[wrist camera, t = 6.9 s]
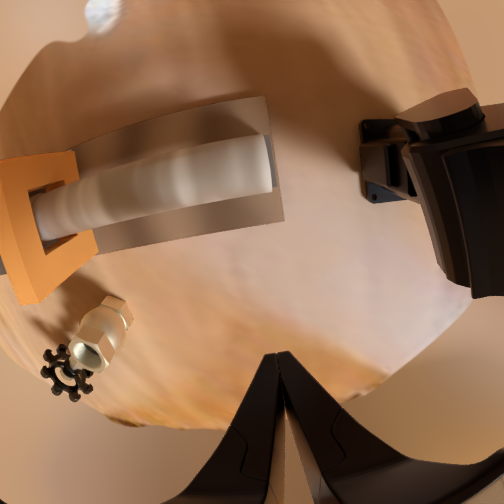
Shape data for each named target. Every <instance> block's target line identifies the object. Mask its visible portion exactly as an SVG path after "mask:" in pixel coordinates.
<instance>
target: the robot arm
mask: <svg viewBox="0 0 504 504" xmlns="http://www.w3.org/2000/svg"><path fill="white" fill-rule="evenodd" d="M394 119H395V120H394ZM394 119H366V120H362V121H360V123H359V130H360V137H361V145H360V147H359V149H360V158H361V167H362V177H363V179H364V180H365V184H366V197H367V200H368V201H369V202H371V203H374V204H375V203H383V202H391V201H400V200H411V201H413V202H416V203H418V204H421V207H422V210H423V213H424V216H425V220H426V223H427V226H428V230H429V233H430V236H431V240H432V244H433V248H434V251H435V255H436V259H437V263H438V265H439V266H440V267H441V269H442V270H443V272H444V273H445V274H446V277H447V279H448V280H450V281H452V282H453V283H455V284H458V285H461V286H465V287H469V288H471V296H472V298H473V299H477V298H482V297H487V296H504V103H502V104H494V105H487V106H480V105H479V102H478V100H477V98H476V97H475V96H474V95H473V94H472V93H471V91H470V90H469V89H468V88H462V89H458V90H454V91H449V92H445V93H442V94H439V95H437V96H435V97H433V98H431V99H429V100H426V101H424V102H422V103H420V104H418V105H416V106H414V107H412V108H410V109H408V110H406V111H404V112H402V113H400V114H398V115H396V116H394ZM365 123H366V124H367V125H368V128H367V129H365V127H364V124H365ZM373 194H374V195H375V198H374V199H372V198H371V196H372V195H373ZM277 358H278V359H277ZM278 364H279V365H278ZM279 371H280V372H279ZM280 378H281V379H280ZM281 384H282V385H281ZM282 391H283V392H282ZM283 397H284V398H283ZM284 404H285V405H284ZM285 409H286V414H287V417H288V421H289V424H290V427H291V430H292V434H293V436H294V440H295V443H296V447H297V450H298V453H299V456H300V460H301V463H302V466H303V469H304V472H305V475H306V479H307V482H308V485H309V488H310V491H311V494H312V498H313V501H314V504H504V477H503V476H504V447H503V448H501V449H499V450H498V451H496V452H495V453H493V454H492V455H491V456H489V457H488V458H486V459H485V460H483V461H481V462H478V463H475V464H470V465H458V464H447V463H438V462H430V461H423V460H417V459H413V458H410V457H408V456H405V455H403V454H401V453H400V452H398V451H397V450H395V449H393V448H392V447H391V446H389V445H388V444H387V443H385V442H384V441H382V440H380V439H379V438H378V437H376V436H375V435H374V434H372V433H371V432H370V431H368V430H367V429H366V428H365V427H363V426H362V425H361V424H360V423H358V422H357V421H356V420H355V419H354V418H353V417H352V416H351V415H349V413H348V412H347V411H346V410H345V409H344V408H342V406H341V405H340V404H339V403H338V402H337V401H336V400H335V399H334V398H333V397H332V396H331V395H330V394H329V393H328V392H327V391H326V390H325V389H324V388H323V387H322V385H321V384H320V383H319V382H318V381H317V380H316V379H315V378H314V377H313V376H312V375H311V374H310V373H309V372H308V371H307V370H306V369H305V367H304V366H303V365H302V364H301V363H300V362H299V361H298V360H297V359H296V358H295V357H294V356H293V355H292V354H291V352H290V351H282V352H278V353H277V354H276V353H270V354H265V355H264V356H263V359H262V361H261V363H260V365H259V367H258V369H257V371H256V373H255V375H254V378H253V380H252V382H251V384H250V386H249V388H248V390H247V392H246V394H245V396H244V398H243V400H242V402H241V404H240V406H239V408H238V410H237V412H236V414H235V416H234V418H233V420H232V422H231V424H230V425H231V426H229V427H228V429H227V431H226V433H225V435H224V437H223V439H222V440H221V442H220V444H219V446H218V447H217V449H216V450H215V451H214V453H213V454H212V456H211V457H210V458H209V460H208V461H207V462H206V464H205V465H204V466H203V467H202V469H201V470H200V471H199V473H198V474H197V475H196V476H195V478H194V479H193V480H192V482H190V484H189V485H188V486H187V487H186V488H185V489H184V490H183V491H182V492H181V493H180V494H178V495H177V496H175V497H173V498H172V499H170V500H167V501H165V502H163V503H161V504H284V488H285ZM0 504H7V503H5V502H4V501H2V500H1V499H0Z"/></svg>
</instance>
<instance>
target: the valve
mask: <svg viewBox="0 0 504 504" xmlns="http://www.w3.org/2000/svg"><path fill="white" fill-rule="evenodd" d="M133 320H134V318H133V316H132V313H131V311H130V309H129V307H128V305H127V303H126V301H124V300H121V299H118V298H115V297H112V296H109V295H107V296H106V298H105V299H104V300H103V301H102V302H101V304H100V305H99V306H98V307H97V308H94V309H92V310H90V311H89V312H87V313H86V314H85V315H84V317H83V318H82V320H81V323H80V326H79V332H78V333H77V334H76V336H75V337H74V338H73V340H72V341H71V342H70V344H69V345H68V349H69V351H70V353H71V355H68V354H66V350H67V347H66V346H65V345H64V344H60V345H59V346H58V347H57V349H56V351H57V355H55V356H54V355H52V353H51V352H52V351H51V350H50V349H47V350H46V351H45V352H44V354H43V358H44V360H45V361H47V362H49V368H47V367H46V366H43V368H42V369H41V372H40V373H41V375H42V377H44V378H51V379H52V380H53V382H54V385H53V386H52V388H51V390H52V393H53V394H54V395H56V396H58V395H60V394H61V393H62V392H63V391H66V392H68V393H69V398H70V400H71V401H73V402H77V401H78V400H79V399H80V398H81V395H80V394H79V395H78V391H79V390H82V392H83V393H84V394H89V393H91V392H92V391H93V386H92V385H91V384H89V385H88V384H86V383H85V381H86V378H90V377H91V376H92V375H93V372H96V373H100V372H102V371H103V370H104V369H105V368H106V367H107V366H108V365H109V363H110V361H111V360H112V358H113V356H114V354H116V353H117V352H118V351H119V350H120V349H121V348H122V346H123V344H124V342H125V339H126V330H128V329H129V327H130V325H131V323H132V322H133ZM59 360H65V361H64V362H61V361H59ZM56 367H60V368H61V370H60V373H61V375H62V377H63V378H64V379H66V380H70V381H71V380H72V379H75V381H76V385H75V386H68V385H65V384H64V383H62V382H61V381H60V380H59V379H58V377H57V376H56V373H55V368H56ZM84 368H85V369H84ZM78 374H79V375H80V377H79V375H78Z"/></svg>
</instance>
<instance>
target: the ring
mask: <svg viewBox="0 0 504 504" xmlns="http://www.w3.org/2000/svg"><path fill="white" fill-rule="evenodd" d="M77 180H80V178H79V173H78V168H77V163H76V157H75V151H65V152H55V153H45V154H37V155H29V156H22V157H15V158H9V159H3V160H0V255H1V258H2V261H3V264H4V266H5V269H6V272H7V275H8V277H9V280H10V282H11V285H12V287H13V290H14V292H15V294H16V297H17V299H18V301H19V303H20V305H27V304H37V303H40V302H41V301H42V300H43V299H45V298H46V297H47V296H48V295H49V294H50V293H51V292H52V291H53V290H54V289H55V288H57V287H58V286H59V285H60V284H61V283H62V282H63V281H64V280H66V279H67V278H68V277H69V276H70V275H71V274H73V273H74V272H75V271H76V270H77V269H78V268H80V267H81V266H82V265H83V264H84V263H86V262H87V261H88V260H89V259H91V258H92V257H93V256H94V255H95V254H97V253H98V252H99V251H98V247H97V244H96V241H95V238H94V234H93V231H92V229H90V230H86V231H82V232H78V233H75V234H71V235H67V236H64V237H60V238H58V239H59V241H57V242H55V243H54V244H52V245H50V246H49V247H47V248H46V249H44V250H43V247H42V243H41V240H40V237H39V234H38V230H37V227H36V223H35V219H34V216H33V212H32V208H31V203H30V199H29V195H28V193H29V192H32V191H36V190H39V189H42V188H45V189H46V193H47V192H49V191H52V190H54V189H57V188H59V187H62V186H64V185H67V184H69V183H72V182H74V181H77Z"/></svg>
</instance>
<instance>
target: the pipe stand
mask: <svg viewBox="0 0 504 504" xmlns="http://www.w3.org/2000/svg"><path fill="white" fill-rule="evenodd" d="M66 151H75V157H76V163H77V168H78V173H79V178H80V180H77V181H74V182H72V183H69V184H67V185H64V186H62V187H59V188H57V189H54V190H52V191H49V192H47V193H46V189H45V188H42V189H39V190H36V191H32V192H29V193H28V195H29V199H30V203H31V208H32V212H33V216H34V219H35V223H36V227H37V230H38V234H39V237H40V240H41V243H42V247H43V250H44V249H46V248H47V247H49V246H50V245H52V244H54V243H55V242H57V241H59V239H58V238H60V237H64V236H67V235H71V234H75V233H78V232H82V231H86V230H90V229H92V231H93V234H94V238H95V241H96V244H97V247H98V251H99V252H98V253H97V254H95V255H100V254H105V253H109V252H114V251H119V250H124V249H129V248H135V247H140V246H145V245H150V244H155V243H161V242H166V241H171V240H177V239H182V238H188V237H193V236H199V235H204V234H210V233H216V232H222V231H227V230H233V229H239V228H245V227H251V226H257V225H264V224H270V223H276V222H282V221H285V220H284V213H283V205H282V198H281V191H280V185H279V178H278V171H277V165H276V158H275V152H274V146H273V140H272V134H271V128H270V122H269V116H268V110H267V105H266V99H265V95H264V96H256V97H249V98H243V99H236V100H230V101H225V102H219V103H214V104H209V105H205V106H200V107H195V108H191V109H187V110H183V111H179V112H175V113H171V114H167V115H163V116H160V117H156V118H153V119H149V120H146V121H143V122H140V123H136V124H133V125H130V126H127V127H124V128H121V129H119V130H116V131H113V132H110V133H107V134H105V135H102V136H99V137H97V138H94V139H92V140H89V141H87V142H84V143H82V144H80V145H77V146H75V147H73V148H70V149H68V150H66ZM64 152H65V151H64ZM95 255H94V256H95ZM4 274H7V272H6V269H5V266H4V264H3V261H2V258H1V255H0V275H4Z"/></svg>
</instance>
